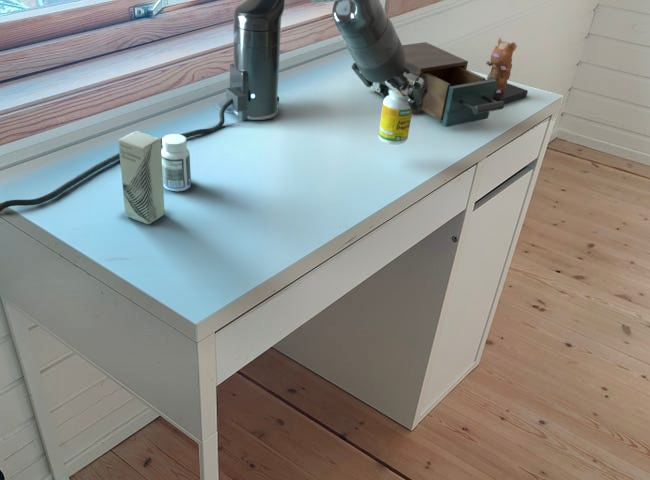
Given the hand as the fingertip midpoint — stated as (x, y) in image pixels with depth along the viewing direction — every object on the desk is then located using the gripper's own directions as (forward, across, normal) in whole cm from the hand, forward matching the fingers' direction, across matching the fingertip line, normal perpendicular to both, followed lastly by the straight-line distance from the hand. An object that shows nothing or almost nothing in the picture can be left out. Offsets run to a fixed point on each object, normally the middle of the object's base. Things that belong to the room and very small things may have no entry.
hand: (403, 102), depth 122 cm
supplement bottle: (+3, 0, +6) cm, 7 cm away
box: (-25, +16, +41) cm, 51 cm away
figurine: (+41, +4, -25) cm, 48 cm away
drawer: (+25, +2, -11) cm, 28 cm away
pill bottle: (-18, +20, +34) cm, 43 cm away
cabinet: (+29, +15, -14) cm, 35 cm away
